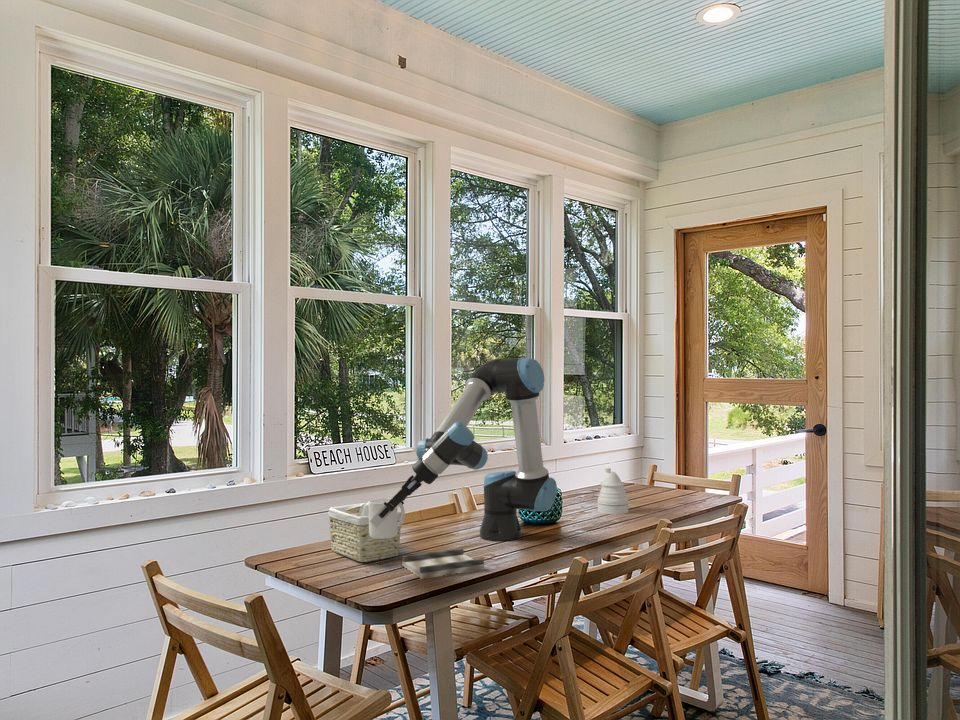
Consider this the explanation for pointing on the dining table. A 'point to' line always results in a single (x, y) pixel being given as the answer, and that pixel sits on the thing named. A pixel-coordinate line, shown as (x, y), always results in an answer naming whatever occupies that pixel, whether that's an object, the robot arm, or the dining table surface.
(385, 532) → the cup
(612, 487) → the honey pot
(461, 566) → the rail board
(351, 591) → the dining table surface
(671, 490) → the dining table surface
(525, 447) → the robot arm
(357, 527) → the storage basket
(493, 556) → the dining table surface
